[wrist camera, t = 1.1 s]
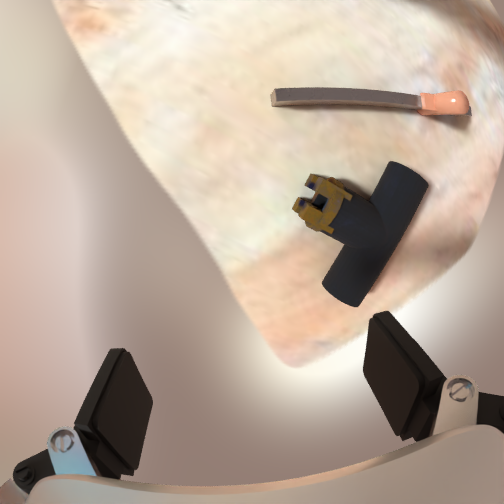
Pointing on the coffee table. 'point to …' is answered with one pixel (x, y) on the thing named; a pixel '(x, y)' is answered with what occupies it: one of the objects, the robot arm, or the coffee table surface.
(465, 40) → the coffee table surface
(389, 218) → the pipe connector
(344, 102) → the guide rail
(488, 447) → the robot arm
